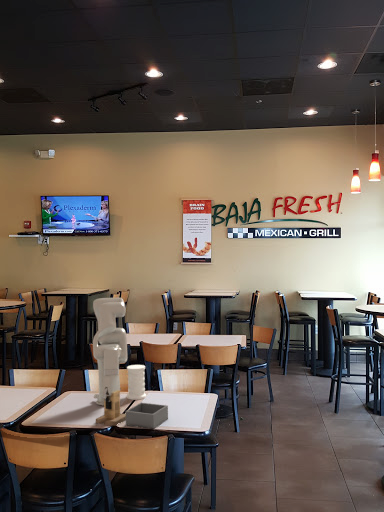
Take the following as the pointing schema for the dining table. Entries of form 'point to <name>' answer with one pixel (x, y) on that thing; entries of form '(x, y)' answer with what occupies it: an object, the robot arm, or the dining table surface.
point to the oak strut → (113, 406)
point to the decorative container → (136, 382)
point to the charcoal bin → (147, 415)
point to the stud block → (111, 420)
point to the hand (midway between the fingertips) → (112, 406)
